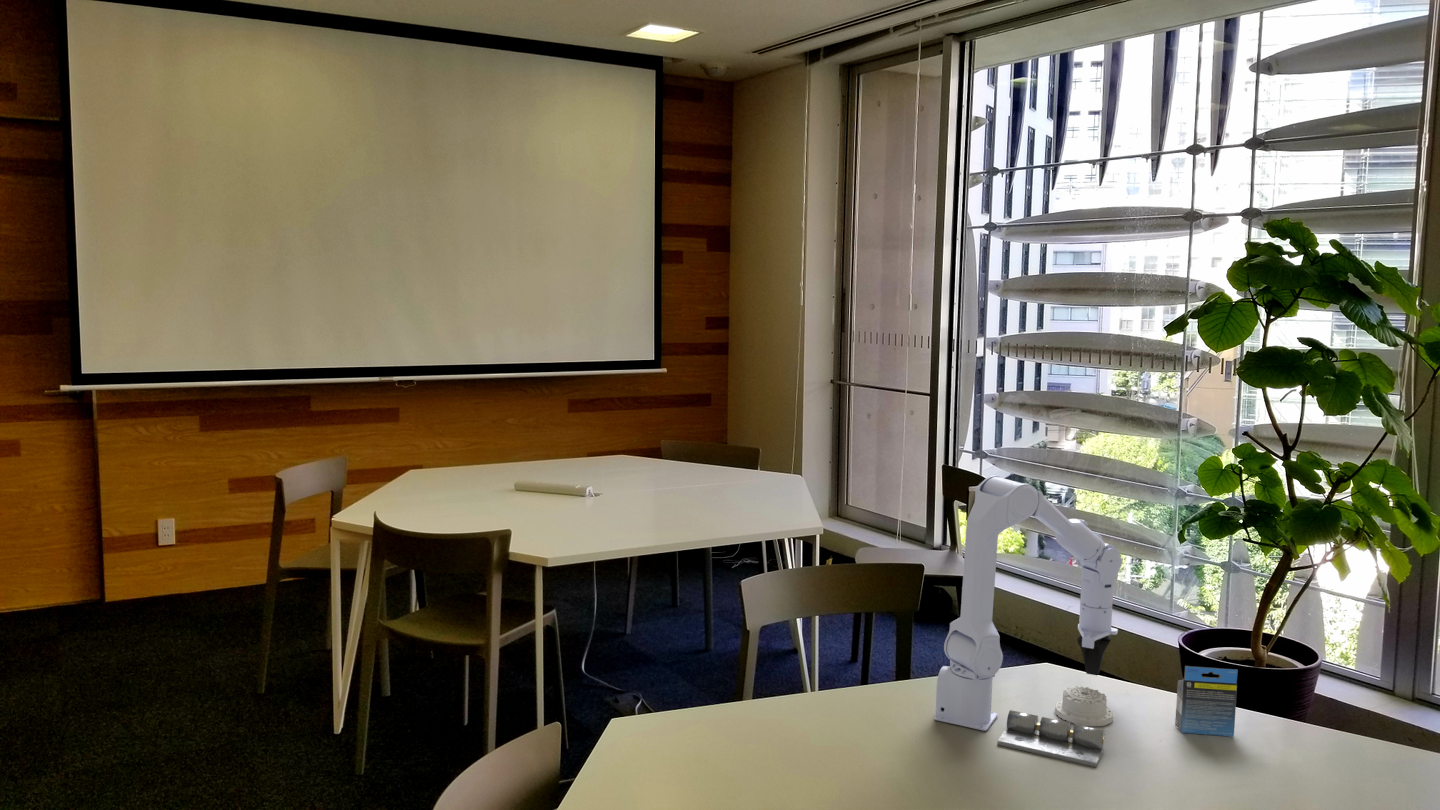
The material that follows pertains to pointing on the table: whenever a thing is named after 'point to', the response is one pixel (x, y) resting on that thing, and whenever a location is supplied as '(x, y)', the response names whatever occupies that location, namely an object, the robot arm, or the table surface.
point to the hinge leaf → (1053, 738)
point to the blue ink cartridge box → (1207, 701)
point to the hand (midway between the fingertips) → (1092, 673)
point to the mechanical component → (1084, 707)
